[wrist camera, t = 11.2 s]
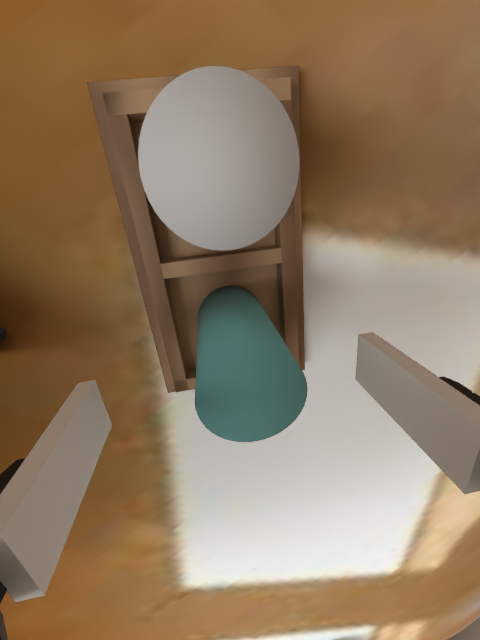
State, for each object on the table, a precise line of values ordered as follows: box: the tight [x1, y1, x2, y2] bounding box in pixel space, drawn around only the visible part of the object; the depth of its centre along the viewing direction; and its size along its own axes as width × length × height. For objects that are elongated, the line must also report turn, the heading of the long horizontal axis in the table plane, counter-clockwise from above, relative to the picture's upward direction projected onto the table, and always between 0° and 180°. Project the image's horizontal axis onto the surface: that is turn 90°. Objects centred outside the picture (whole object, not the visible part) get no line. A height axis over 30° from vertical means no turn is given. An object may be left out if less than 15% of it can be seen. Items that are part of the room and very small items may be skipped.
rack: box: [87, 66, 305, 393], centre depth 19 cm, size 12×21×2 cm, turn 6°
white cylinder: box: [138, 66, 299, 251], centre depth 13 cm, size 5×5×10 cm
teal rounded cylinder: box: [195, 286, 307, 442], centre depth 17 cm, size 5×5×10 cm
